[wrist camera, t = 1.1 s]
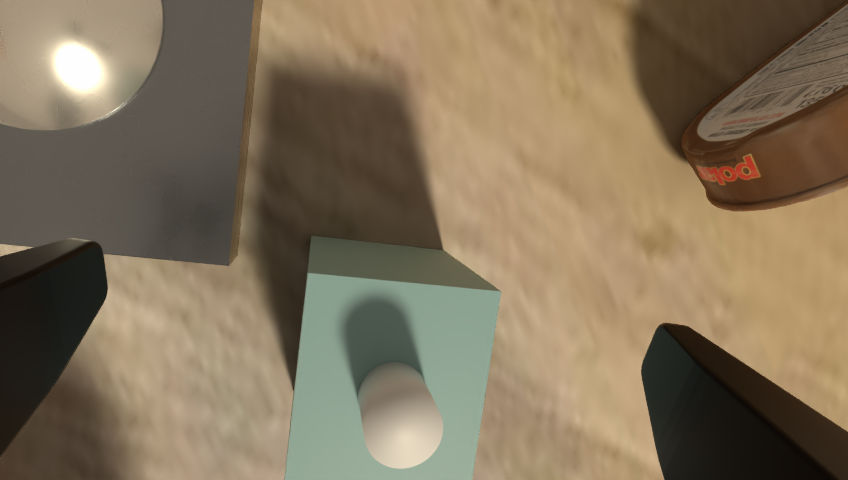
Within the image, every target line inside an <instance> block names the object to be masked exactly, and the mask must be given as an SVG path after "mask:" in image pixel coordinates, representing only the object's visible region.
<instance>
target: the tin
mask: <svg viewBox="0 0 848 480" xmlns="http://www.w3.org/2000/svg"><path fill="white" fill-rule="evenodd" d="M682 148H683V151H684V153H685V155H686V158H687V159H688V161H689V163H690V165H691V166H692V168H693V170H694V171H695V173H696V175H697V176H698V178H699V179H700V181H701V183H702V184H703V186H704V187H705V189H706V196H707V198H708V200H709V201H710V202H711V203H712V204H713V205H714V206H716V207H718V208H721V209H724V210H730V211H756V210H766V209H772V208H777V207H781V206H787V205H791V204H794V203H798V202H803V201H807V200H810V199H813V198H816V197H820V196H824V195H827V194H830V193H832V192H835V191H838V190H841V189H844V188H846V187H848V1H846V2H845V3H844V4H842V5H841V6H840V7H838V8H837V9H835V10H834V11H833V12H831V13H830V14H829V15H827V16H826V17H824V18H823V19H822V20H820V21H819V22H818V23H816V24H815V25H814V26H812V27H811V28H809V29H808V30H807V31H805V32H804V33H803V34H801V35H800V36H799V37H797V38H796V39H794V40H793V41H792V42H790V43H789V44H788V45H786V46H785V47H784V48H782V49H781V50H780V51H778V52H777V53H776V54H774V55H773V56H772V57H770V58H769V59H768V60H766V61H765V62H764V63H762V64H761V65H760V66H759V67H757V68H756V69H755V70H753V71H752V72H751V73H749V74H748V75H747V76H745V77H744V78H743V79H741V80H740V81H739V82H737V83H736V84H735V85H734V86H732V87H731V88H730V89H728V90H727V91H726V92H724V93H723V94H722V95H720V96H719V97H718V98H717V99H715V100H714V101H713V102H712V103H711V104H709V105H708V106H707V107H706V108H705V109H704V110H703V111H701V112H700V113H699V114H698V115H697V116H696V117H695V118H694V120H693V121H692V122H691V123H690V124H689V126H688V127H687V128H686V130H685V132H684V134H683V136H682Z"/></svg>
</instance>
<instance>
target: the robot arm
mask: <svg viewBox="0 0 848 480" xmlns="http://www.w3.org/2000/svg"><path fill="white" fill-rule="evenodd" d="M107 290H108V284H107V277H106V270H105V263H104V255H103V250H102V247H101V245H100V244H98V243H97V242H96V241H91V240H84V239H77V238H68V239H64V240H60V241H57V242H53V243H49V244H45V245H42V246H38V247H34V248H30V249H27V250H23V251H19V252H16V253H12V254H8V255H4V256H1V257H0V457H1V456H2V454H3V453H4V452H5V450H6V449H7V448H8V446H9V445H10V444H11V442H12V441H13V440H14V438H15V437H16V436H17V434H18V433H19V432H20V430H21V429H22V428H23V426H24V425H25V424H26V422H27V421H28V419H29V418H30V417H31V415H32V414H33V413H34V411H35V410H36V409H37V407H38V406H39V405H40V403H41V402H42V401H43V399H44V398H45V397H46V395H47V394H48V393H49V391H50V390H51V388H52V387H53V386H54V384H55V383H56V381H57V380H58V379H59V377H60V375H61V374H62V372H63V371H64V369H65V368H66V366H67V364H68V363H69V361H70V359H71V357H72V356H73V354H74V352H75V351H76V349H77V347H78V346H79V344H80V342H81V340H82V339H83V337H84V335H85V334H86V332H87V330H88V329H89V327H90V325H91V323H92V322H93V320H94V318H95V317H96V315H97V313H98V311H99V310H100V308H101V306H102V305H103V303H104V301H105V299H106V296H107ZM641 375H642V381H643V386H644V391H645V396H646V401H647V406H648V411H649V416H650V421H651V426H652V431H653V436H654V441H655V446H656V450H657V455H658V459H659V463H660V466H661V469H662V473H663V476H664V479H665V480H848V432H847V431H846V430H844V429H843V428H841V427H840V426H838V425H837V424H835V423H834V422H832V421H831V420H829V419H828V418H826V417H824V416H823V415H821V414H820V413H818V412H817V411H815V410H814V409H812V408H811V407H809V406H808V405H806V404H805V403H803V402H802V401H800V400H799V399H797V398H796V397H794V396H793V395H791V394H790V393H788V392H787V391H785V390H784V389H782V388H781V387H779V386H778V385H776V384H775V383H773V382H772V381H770V380H769V379H767V378H766V377H764V376H762V375H761V374H759V373H758V372H756V371H755V370H753V369H752V368H750V367H749V366H747V365H746V364H744V363H743V362H741V361H740V360H738V359H737V358H735V357H734V356H732V355H731V354H729V353H728V352H726V351H725V350H723V349H722V348H720V347H719V346H717V345H716V344H714V343H713V342H711V341H710V340H708V339H707V338H705V337H703V336H702V335H700V334H699V333H697V332H696V331H694V330H693V329H691V328H690V327H688V326H685V325H678V324H671V323H663V324H661V325H659V326H658V328H657V329H656V331H655V333H654V336H653V338H652V341H651V343H650V345H649V348H648V350H647V353H646V355H645V358H644V360H643V363H642V369H641Z"/></svg>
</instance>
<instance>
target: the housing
mask: <svg viewBox="0 0 848 480" xmlns="http://www.w3.org/2000/svg"><path fill="white" fill-rule="evenodd" d="M500 295H501V291H500V290H498V289H497V288H496V287H494V286H493V285H491V284H490V283H489V282H487V281H486V280H484V279H483V278H482V277H480V276H479V275H477V274H476V273H475V272H473V271H472V270H470V269H469V268H468V267H466V266H465V265H464V264H462V263H461V262H459V261H458V260H457V259H455V258H454V257H452V256H451V255H450V254H448V253H447V252H445V251H444V250H438V249H429V248H420V247H411V246H402V245H393V244H383V243H374V242H365V241H356V240H347V239H338V238H329V237H319V236H311V243H310V252H309V261H308V270H307V279H306V288H305V296H304V305H303V314H302V323H301V332H300V341H299V350H298V359H297V368H296V376H295V385H294V394H293V404H292V413H291V423H290V432H289V442H288V451H287V461H286V470H285V479H284V480H472V477H473V471H474V464H475V458H476V451H477V445H478V438H479V432H480V425H481V419H482V412H483V406H484V399H485V393H486V386H487V380H488V373H489V367H490V360H491V354H492V347H493V341H494V334H495V328H496V321H497V315H498V308H499V302H500Z"/></svg>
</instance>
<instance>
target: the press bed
mask: <svg viewBox="0 0 848 480" xmlns="http://www.w3.org/2000/svg"><path fill="white" fill-rule="evenodd" d="M261 10H262V0H0V244H7V245H17V246H28V247H38V246H42V245H45V244H49V243H53V242H57V241H60V240H64V239H68V238H77V239H84V240H91V241H96V242H97V243H98V244H100V245H101V247H102V250H103V254H111V255H121V256H132V257H142V258H153V259H163V260H173V261H184V262H194V263H205V264H215V265H225V266H229V265H230V264H231V263H232V261H233V260H234V259H235V258H236V257H237V255H238V245H239V235H240V225H241V215H242V204H243V194H244V184H245V174H246V163H247V153H248V143H249V133H250V122H251V112H252V102H253V92H254V81H255V71H256V61H257V51H258V40H259V30H260V20H261Z"/></svg>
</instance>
